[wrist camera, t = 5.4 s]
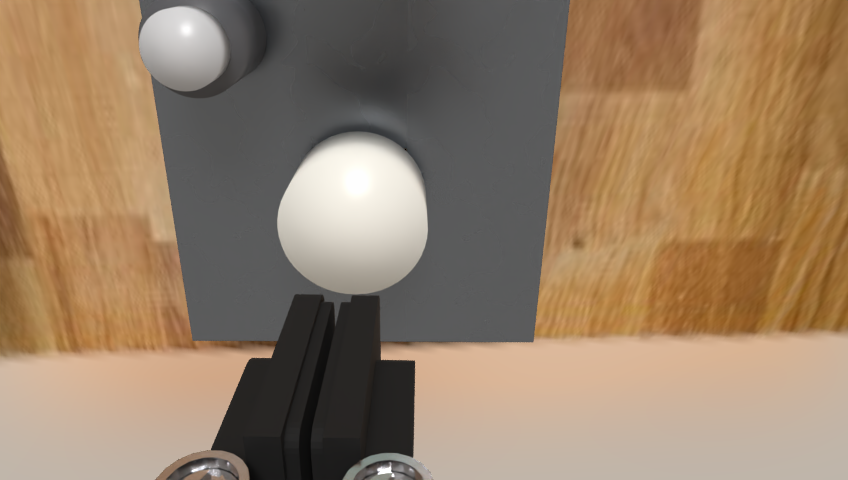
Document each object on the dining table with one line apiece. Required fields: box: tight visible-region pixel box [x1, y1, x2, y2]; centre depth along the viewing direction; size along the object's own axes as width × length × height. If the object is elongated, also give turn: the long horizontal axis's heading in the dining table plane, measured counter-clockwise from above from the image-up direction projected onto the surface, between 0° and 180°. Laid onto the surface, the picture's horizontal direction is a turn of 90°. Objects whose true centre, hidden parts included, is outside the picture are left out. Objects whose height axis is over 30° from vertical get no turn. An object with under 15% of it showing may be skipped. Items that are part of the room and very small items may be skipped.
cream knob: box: [277, 131, 428, 294], centre depth 24 cm, size 5×5×8 cm
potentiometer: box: [139, 0, 266, 98], centre depth 19 cm, size 3×3×4 cm
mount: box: [139, 0, 570, 342], centre depth 23 cm, size 14×24×5 cm, turn 179°
